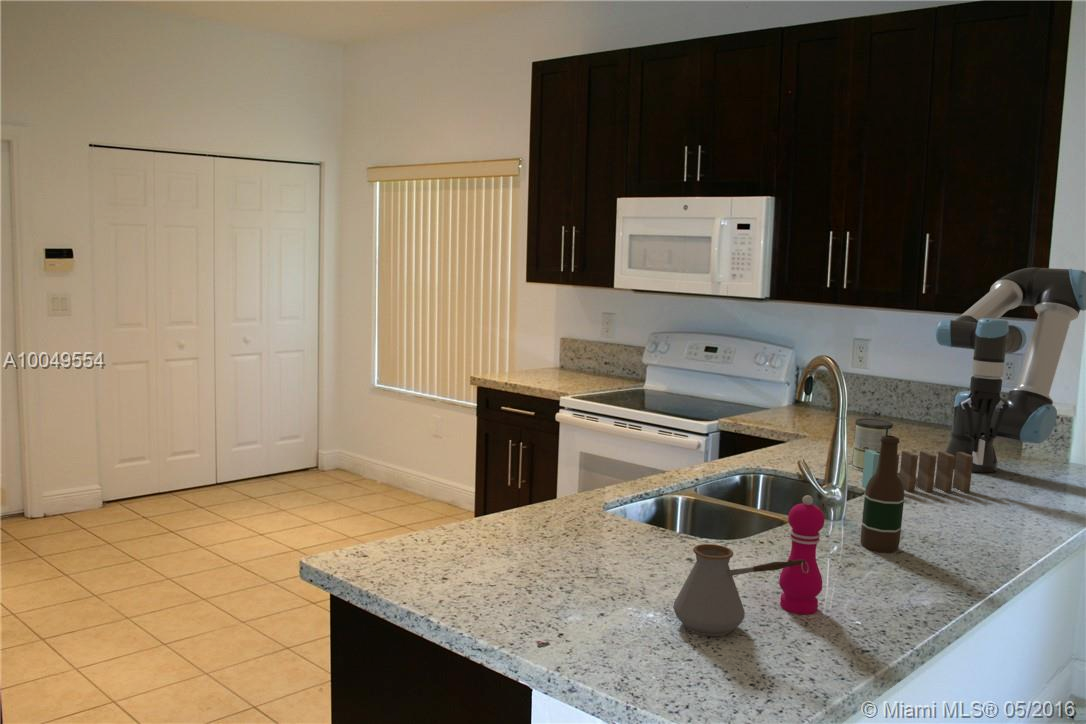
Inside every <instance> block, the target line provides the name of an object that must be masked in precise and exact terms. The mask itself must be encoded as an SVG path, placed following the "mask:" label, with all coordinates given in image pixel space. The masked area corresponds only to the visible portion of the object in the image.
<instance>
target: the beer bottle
mask: <svg viewBox="0 0 1086 724" xmlns="http://www.w3.org/2000/svg"><path fill="white" fill-rule="evenodd" d="M880 441H881V442H882V443H881V449H880V455H879V461H878V466H877V470H876V473H875V474H874V475H873V476H872V477H871V479H870V480H869V482H868V484H867V486H866V489H865V492H864V497H863V499H864V500H863V510H862V519H861V530H860V531H861V532H860V545H861V546H862V547H864V548H865V550H869V551H873V552H878V553H885V554H886V553H888V554H889V553H894V552H896V551H898V550H899V547H900V541H901V534H902V533H901V531H902V524H903V511H904V502H905V490H904V489H903V485H902V482H901V481H900V479H899V476H898V474H897V454H898V447H899V446H898V445H899V443H900V437H897V436H896V435H892V436H891V435H885V436H882V437H881V439H880Z"/></svg>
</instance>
